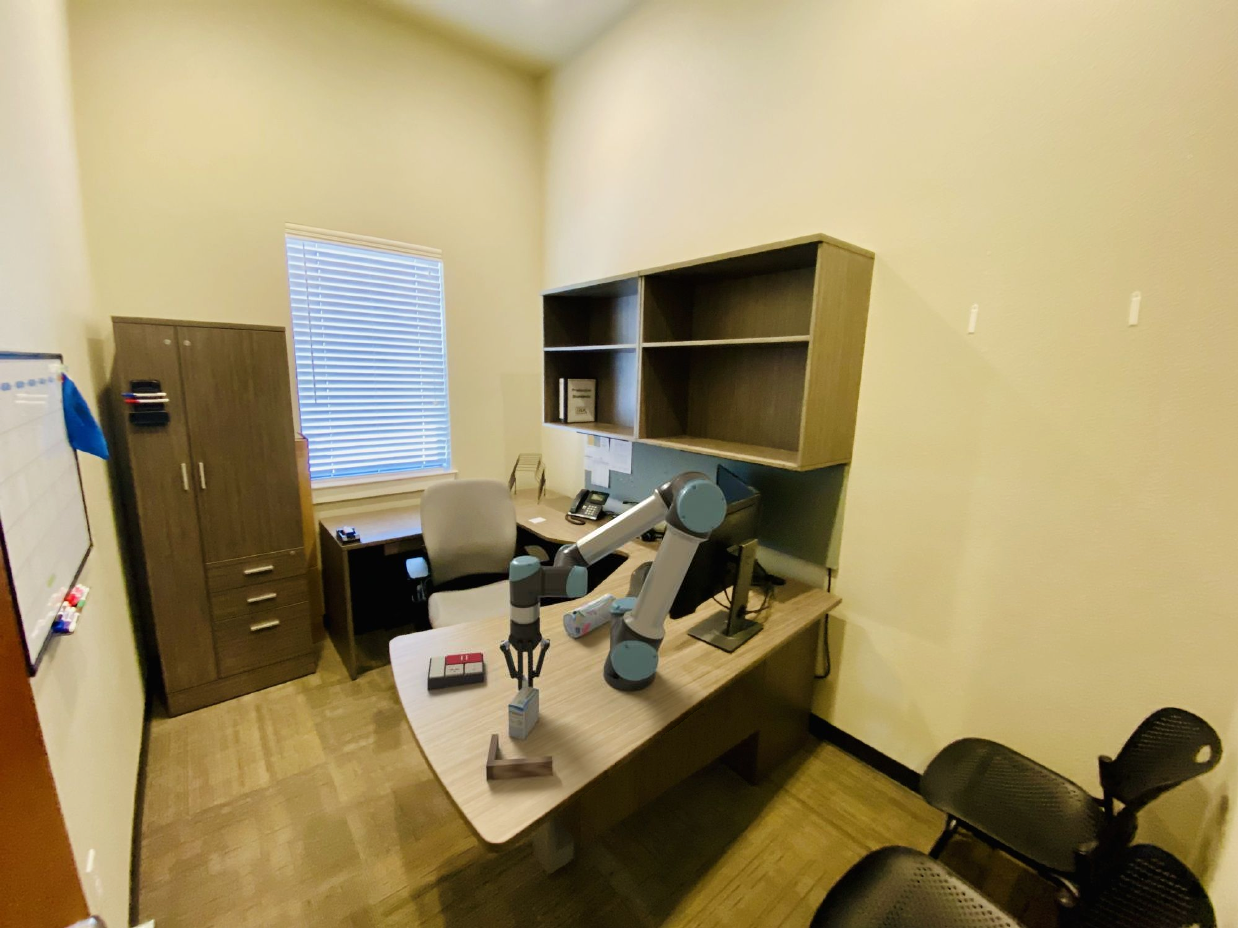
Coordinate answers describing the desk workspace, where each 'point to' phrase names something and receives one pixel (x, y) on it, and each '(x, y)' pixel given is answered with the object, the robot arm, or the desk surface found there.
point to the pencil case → (588, 616)
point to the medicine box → (523, 712)
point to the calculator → (455, 670)
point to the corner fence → (515, 765)
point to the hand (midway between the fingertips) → (525, 699)
